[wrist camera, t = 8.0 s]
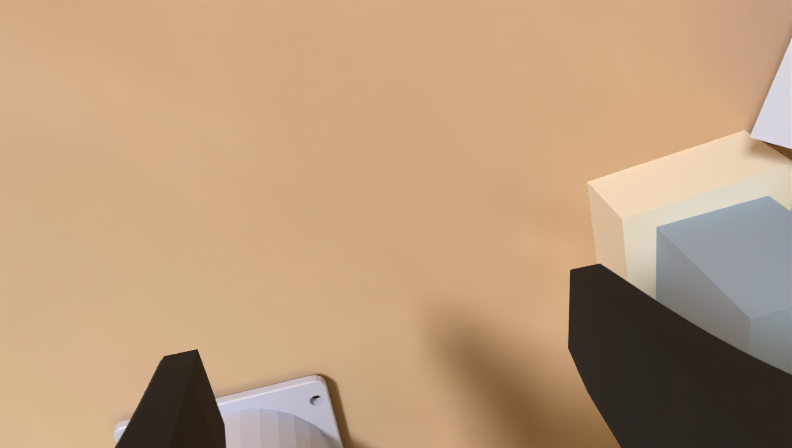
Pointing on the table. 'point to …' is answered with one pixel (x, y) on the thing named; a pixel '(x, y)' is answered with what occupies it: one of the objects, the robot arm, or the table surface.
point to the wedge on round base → (777, 108)
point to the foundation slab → (679, 198)
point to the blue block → (732, 276)
